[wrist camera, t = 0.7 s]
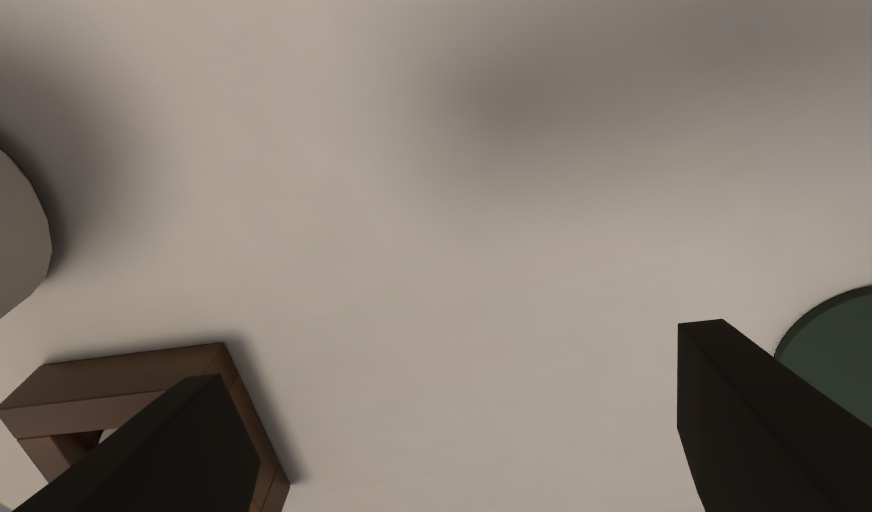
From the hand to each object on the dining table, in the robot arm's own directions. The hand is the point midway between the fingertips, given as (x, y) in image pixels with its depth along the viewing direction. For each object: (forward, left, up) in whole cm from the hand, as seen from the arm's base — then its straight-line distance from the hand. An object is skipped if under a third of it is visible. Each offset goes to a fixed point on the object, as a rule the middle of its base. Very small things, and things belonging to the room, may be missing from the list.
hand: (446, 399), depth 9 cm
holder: (-9, +14, -10) cm, 19 cm away
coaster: (-9, -12, -10) cm, 18 cm away
